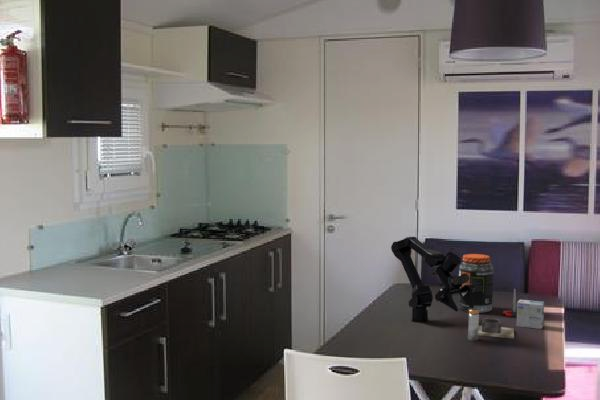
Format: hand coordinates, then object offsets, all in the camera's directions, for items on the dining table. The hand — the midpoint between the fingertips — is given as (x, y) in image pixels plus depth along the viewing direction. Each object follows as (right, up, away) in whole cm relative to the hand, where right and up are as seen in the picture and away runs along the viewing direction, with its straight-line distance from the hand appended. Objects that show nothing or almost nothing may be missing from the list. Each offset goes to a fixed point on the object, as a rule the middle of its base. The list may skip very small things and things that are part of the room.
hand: (465, 309), depth 285 cm
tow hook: (+31, -8, +37) cm, 49 cm away
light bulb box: (+32, -10, +18) cm, 38 cm away
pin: (+3, -11, -3) cm, 12 cm away
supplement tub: (+15, -7, +45) cm, 49 cm away
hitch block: (+13, -11, +7) cm, 18 cm away
